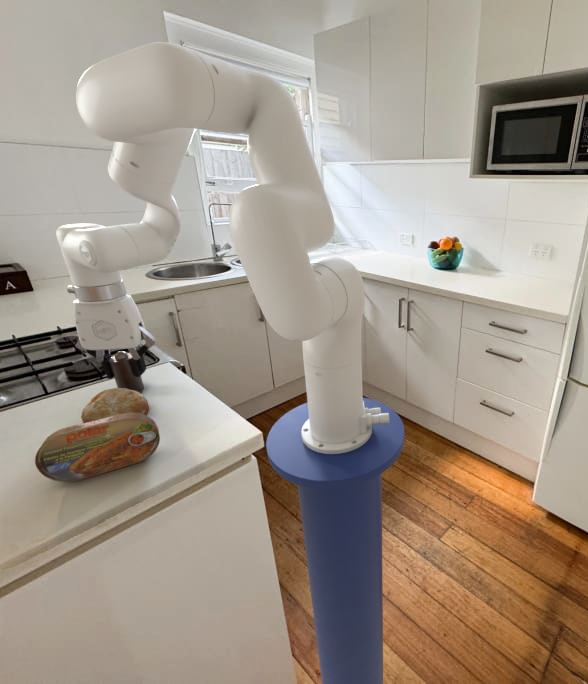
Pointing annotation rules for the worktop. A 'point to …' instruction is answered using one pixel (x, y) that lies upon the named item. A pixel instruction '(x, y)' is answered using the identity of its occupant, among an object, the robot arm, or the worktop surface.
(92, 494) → the worktop surface
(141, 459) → the tin
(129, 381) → the pepper mill
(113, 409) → the bread roll
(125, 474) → the worktop surface
